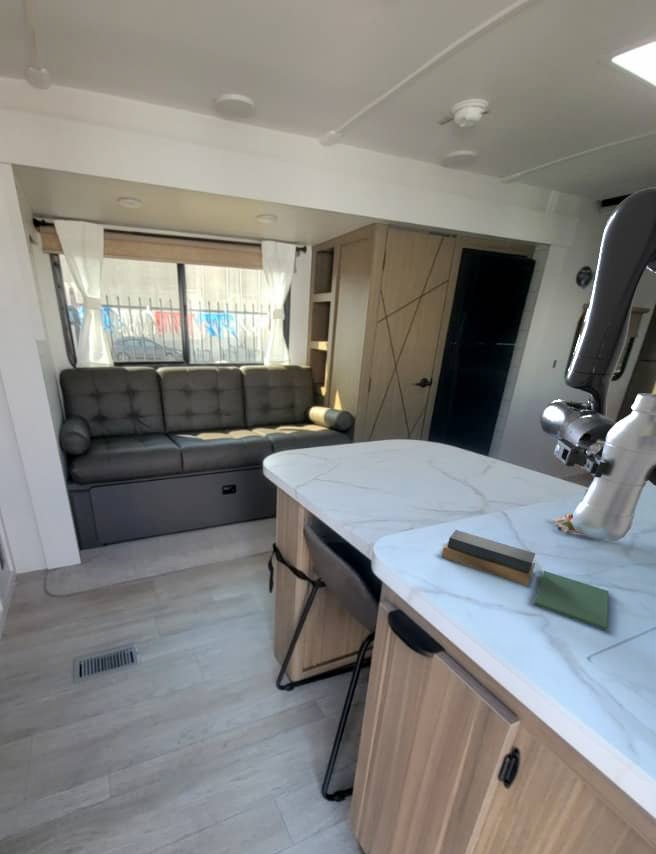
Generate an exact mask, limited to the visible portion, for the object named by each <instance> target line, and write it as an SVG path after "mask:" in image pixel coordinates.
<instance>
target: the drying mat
mask: <svg viewBox="0 0 656 854" xmlns="http://www.w3.org/2000/svg"><path fill="white" fill-rule="evenodd" d="M537 588H538V589H537V591H536V595H535V598H534V602H533V605H534V606H536V607H538V608H542V609H545V610H547V611H550V612H552V613H555V614H558V615H561V616H564V617H567V618H570V619H572V620H574V621H578V622H580V623H584V624H586V625H588V626H591V627H595V628H598V629H600V630H602V631H607V629H608V615H609V613H608V612H609V590H607V589H605V588H604V589H603V588H600V587H597V586H593V585H591V584H588V583H584V582H581V581H578V580H575V579H571V578H568V577H565V576H562V575H559V574H556V573H552V572H550V571H546V570H543V571H542V574H541V577H540V581H539V585H538V587H537Z"/></svg>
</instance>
